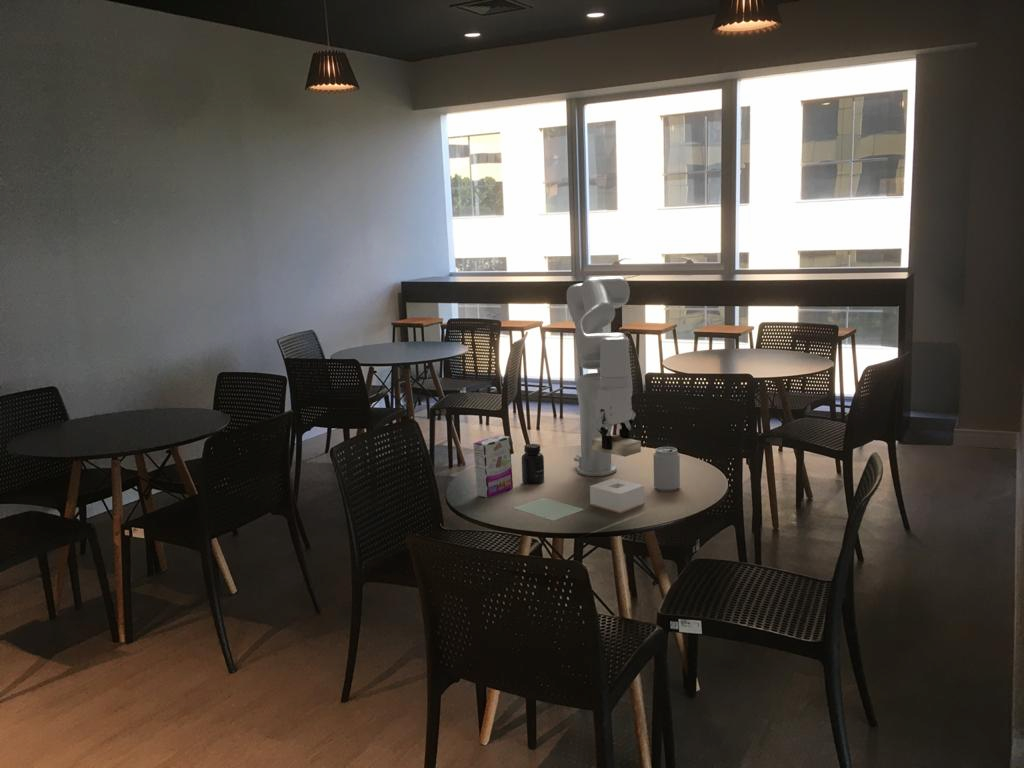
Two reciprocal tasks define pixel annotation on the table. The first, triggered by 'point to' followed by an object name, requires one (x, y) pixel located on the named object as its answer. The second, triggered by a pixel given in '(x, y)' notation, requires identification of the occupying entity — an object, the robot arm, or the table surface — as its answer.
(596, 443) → the lid
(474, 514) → the table surface
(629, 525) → the table surface
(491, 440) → the candy bar box
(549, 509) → the mat
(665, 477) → the can
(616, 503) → the gray block
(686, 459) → the table surface
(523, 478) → the supplement bottle
